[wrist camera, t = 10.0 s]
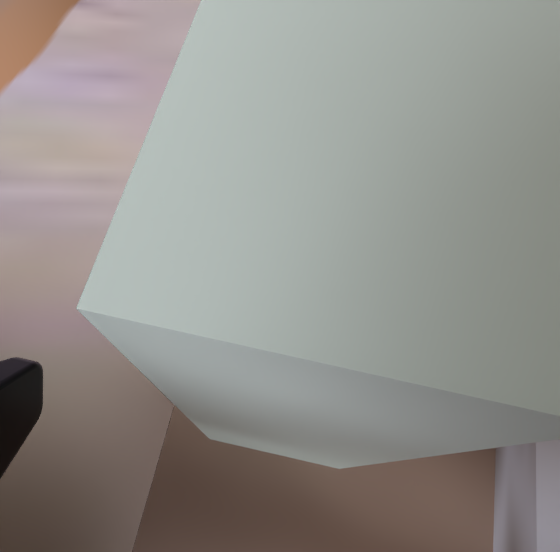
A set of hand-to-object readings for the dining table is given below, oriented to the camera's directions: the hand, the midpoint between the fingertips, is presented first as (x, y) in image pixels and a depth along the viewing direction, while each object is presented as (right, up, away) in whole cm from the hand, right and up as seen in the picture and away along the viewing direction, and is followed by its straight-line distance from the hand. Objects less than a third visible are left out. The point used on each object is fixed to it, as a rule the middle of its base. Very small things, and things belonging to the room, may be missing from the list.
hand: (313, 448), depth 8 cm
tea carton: (0, +1, +8) cm, 8 cm away
